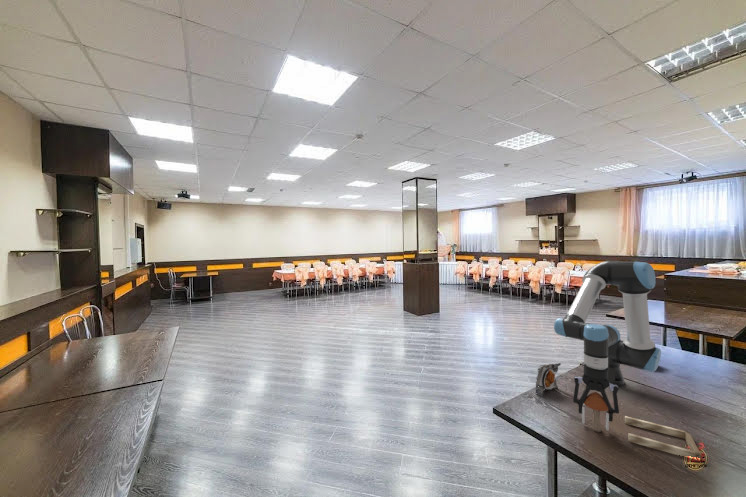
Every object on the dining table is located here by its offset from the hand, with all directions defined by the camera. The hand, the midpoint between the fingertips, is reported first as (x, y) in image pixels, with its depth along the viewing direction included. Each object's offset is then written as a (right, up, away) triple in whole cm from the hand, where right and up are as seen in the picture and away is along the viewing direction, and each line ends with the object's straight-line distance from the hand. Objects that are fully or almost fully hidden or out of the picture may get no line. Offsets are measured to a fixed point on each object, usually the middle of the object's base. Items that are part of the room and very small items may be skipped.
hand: (595, 425), depth 116 cm
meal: (-1, -2, +30) cm, 30 cm away
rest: (+18, -2, -7) cm, 20 cm away
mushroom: (0, -2, 0) cm, 2 cm away
